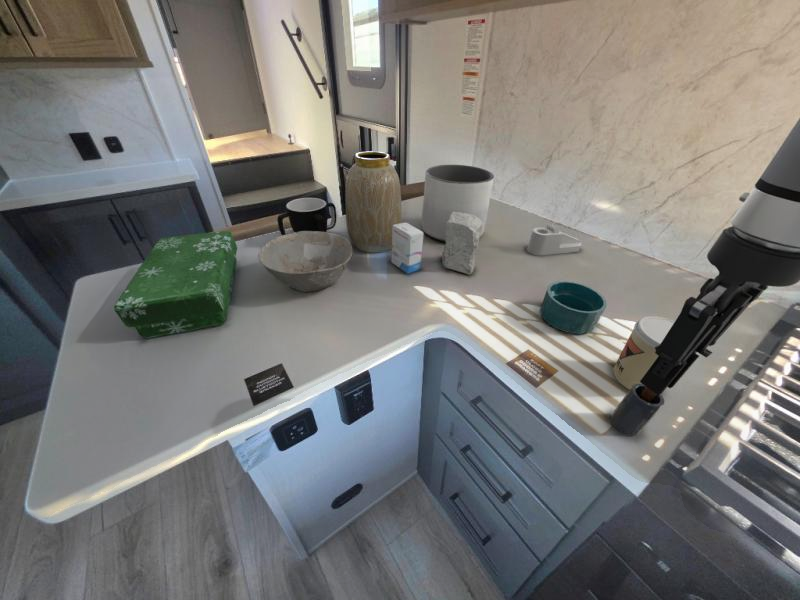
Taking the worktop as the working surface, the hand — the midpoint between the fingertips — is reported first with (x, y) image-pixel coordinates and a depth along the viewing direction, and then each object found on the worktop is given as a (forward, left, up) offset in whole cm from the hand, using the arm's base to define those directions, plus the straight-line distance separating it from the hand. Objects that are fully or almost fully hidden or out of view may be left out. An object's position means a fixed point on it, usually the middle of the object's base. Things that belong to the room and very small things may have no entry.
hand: (656, 384), depth 46 cm
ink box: (+61, +10, -11) cm, 63 cm away
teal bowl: (+24, -14, -10) cm, 30 cm away
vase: (+78, +13, -11) cm, 80 cm away
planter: (+76, -16, -11) cm, 78 cm away
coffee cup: (+5, -11, -11) cm, 16 cm away
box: (+69, +64, -11) cm, 95 cm away
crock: (0, 0, -10) cm, 10 cm away
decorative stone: (+55, -4, -11) cm, 56 cm away
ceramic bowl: (+63, +37, -11) cm, 74 cm away
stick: (0, 0, -10) cm, 10 cm away
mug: (+89, +31, -11) cm, 95 cm away
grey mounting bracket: (+51, -39, -11) cm, 65 cm away
